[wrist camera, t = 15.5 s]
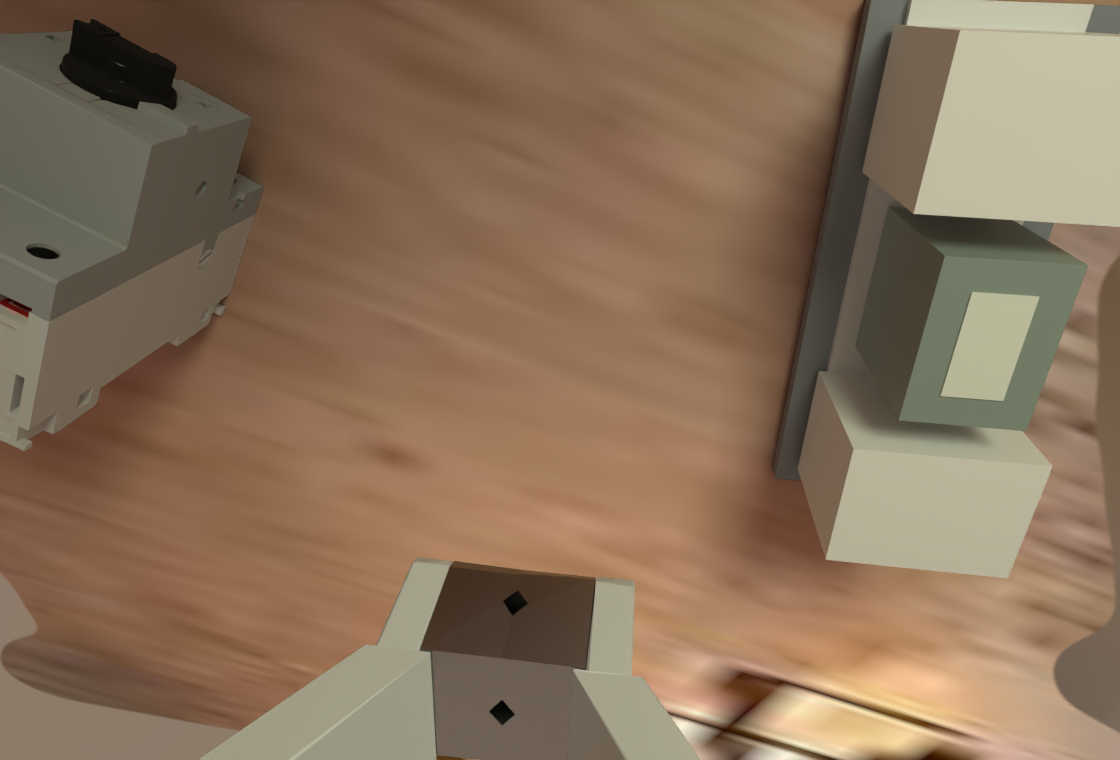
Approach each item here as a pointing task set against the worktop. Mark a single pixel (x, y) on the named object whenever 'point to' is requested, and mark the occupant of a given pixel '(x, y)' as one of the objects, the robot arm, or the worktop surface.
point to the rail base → (946, 190)
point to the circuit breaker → (106, 217)
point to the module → (965, 318)
